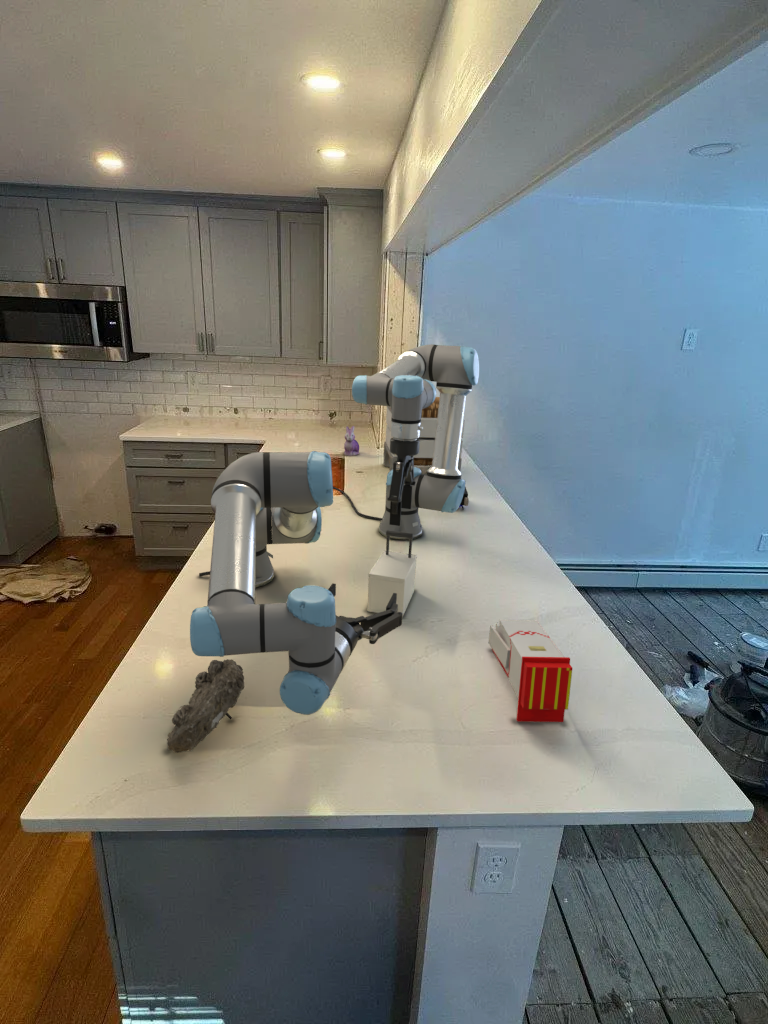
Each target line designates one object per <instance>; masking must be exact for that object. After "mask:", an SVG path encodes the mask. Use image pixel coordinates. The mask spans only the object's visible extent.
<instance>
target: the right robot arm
mask: <svg viewBox="0 0 768 1024" xmlns="http://www.w3.org/2000/svg"><path fill="white" fill-rule="evenodd" d="M479 378H480V359H479V354H478V352H477V350H476V349H475V348H474V347H470V346H464V345H446V344H445V345H444V344H443V345H442V344H432V343H431V344H424V345H420V346H416V347H413V348H410V349H408V350H406V351H404V352H402V353H401V354H400V355H399V356H398V358H397V359H396V360H395V361H394V362H392V363H391V364H389V365H388V366H386V367H384V368H383V369H381V370H379V371H378V372H376V373H374V374H372V375H367V374H365V375H356V376H355V378H354V379H353V382H352V385H351V396H352V399H353V401H354V402H355V403H357V404H362V405H370V406H379V407H381V406H382V407H387V406H391V407H392V417H391V432H390V436H391V437H392V438H391V439H390V452H391V453H392V454H395V455H397V461H395V462H394V463H393V470H391V471H390V470H389V472H388V473H387V475H386V482H385V504H384V505H385V507H384V508H385V509H384V513H383V515H382V517H378V516H373V515H367V514H363V513H361V512H359V511H358V509H357V507H356V505H355V504H354V503H353V501H352V499H351V498H350V496H349V495H348V494H347V493H346V492H345V491H343V490H342V489H340V488H337V487H335V486H333V490H335V491H338V492H339V493H341V494H342V495H344V496H345V497H346V499H347V500H348V503H350V505H351V507H352V509H353V510H354V512H355V514H357V515H358V516H360V517H362V518H365V519H366V518H367V519H371V520H377V521H381V522H379V526H378V533H379V534H380V535H381V536H382V537H385V538H387V535H386V531H387V530H390V531H398V532H405V533H413V539H412V540H415V539H418V538H420V537H421V536H422V535H423V525H422V524H421V518H420V515H419V509H424V510H430V511H435V512H436V511H437V512H441V513H450V514H453V513H456V512H457V511H458V509H459V508H460V507H459V506H460V503H461V501H462V498H463V494H464V490H465V487H466V480H465V479H464V478H462V473H461V472H462V471H461V472H460V471H459V470H458V460H459V452H460V444H461V440H462V438H461V435H462V427H463V419H464V420H465V418H464V417H465V411H466V400H467V395H468V394H470V393H471V392H472V391H473V386H477V385H478V384H479ZM433 382H435V385H434V383H433ZM437 391H438V392H439V397H440V398H439V407H438V416H437V425H436V434H435V443H434V452H433V461H432V465H430V466H429V468H428V469H427V470H426V474H425V473H422V469H421V468H419V467H417V466H414V460H413V458H414V455H417V454H418V453H419V444H420V441H419V439H418V438H419V437H420V430H423V427H422V426H420V424H421V412H422V409H424V408H427V407H428V406H430V405H431V404H432V403H433V402H434V400H435V398H436V397H437ZM390 540H395V541H409V538H401V537H394V536H390Z"/></svg>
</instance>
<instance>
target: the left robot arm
mask: <svg viewBox="0 0 768 1024" xmlns="http://www.w3.org/2000/svg"><path fill="white" fill-rule="evenodd" d="M333 481H334V480H333V469H332V458H331V455H330V454H329V453H327V452H324V451H317V450H312V451H270V452H267V451H264V452H263V451H255V452H251V453H248V454H245V455H242V456H240V457H239V458H237V459H236V460H234V461H232V462H231V463H230V464H229V465H228V466H227V467H226V468H225V469H224V470H223V471H222V472H221V473H220V475H219V476H218V477H217V479H216V481H215V483H214V485H213V488H212V491H211V497H210V498H211V499H210V507H211V510H212V512H213V513H214V522H213V523H214V525H213V535H212V547H211V557H210V569H209V571H204V572H199V573H198V576H199V577H205V576H209V580H208V589H207V590H208V591H207V600H206V601H207V605H205V606H203V607H196V608H194V609H193V610H192V612H191V615H190V621H189V640H190V648H191V651H192V653H193V654H194V655H195V656H197V657H220V658H223V657H225V656H237V655H248V654H249V655H250V654H263V653H276V652H280V653H281V652H288V670H287V673H286V674H285V675H284V676H283V679H282V682H281V683H280V685H279V697H280V699H281V701H282V703H283V704H284V705H285V707H286V708H288V709H289V710H290V711H291V712H293V713H296V714H300V715H307V716H308V715H313V714H314V713H315V714H316V712H319V710H320V709H321V708H322V706H323V705H324V703H325V702H326V701H327V700H328V699H329V697H330V696H331V693H332V690H333V689H334V686H335V685H336V682H337V681H338V679H339V677H340V675H341V673H342V671H343V670H344V668H345V666H346V664H347V663H348V661H349V659H350V657H351V655H352V654H353V652H354V650H355V648H356V647H357V644H358V642H359V641H360V640H362V639H365V640H368V643H369V644H370V645H375V644H376V643H377V641H378V640H379V639H381V638H383V637H384V636H386V635H387V634H389V633H390V632H392V631H394V630H395V629H398V628H399V627H401V626H402V625H403V617H402V614H403V613H402V612H398V604H396V601H397V593H393V595H392V597H391V599H390V601H389V603H388V604H387V606H386V611H383V612H380V613H374V614H371V615H368V616H364V615H360V616H357V617H348V616H344V615H337V614H336V599H335V597H336V595H337V584H336V583H331V585H330V586H329V588H328V589H327V588H326V587H323V586H319V585H313V584H312V585H311V584H309V585H308V584H307V585H303V586H302V587H296V588H294V589H293V590H291V591H290V592H289V594H288V596H287V599H286V602H275V603H271V602H270V603H257V604H256V589H257V588H260V587H263V586H265V585H267V584H269V583H271V582H272V581H273V580H274V577H275V573H274V572H275V570H274V567H273V564H272V561H271V559H274V555H273V554H272V553H270V552H269V551H267V545H287V544H288V545H289V544H293V545H294V544H306V545H307V544H311V543H317V542H318V541H319V539H320V537H321V531H322V522H323V520H322V509H321V508H325V507H331V506H332V505H333V503H334V489H333V487H334V483H333Z"/></svg>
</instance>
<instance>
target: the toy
mask: <svg viewBox="0 0 768 1024" xmlns="http://www.w3.org/2000/svg"><path fill="white" fill-rule="evenodd" d="M488 646H490V648H491V651H492V653H493V655H494V656H495V658H496V660H497V661H498V663H499V665H500V666H501V668H502V670H503V672H504V673H505V676H506V678H508V681H509V683H510V685H511V687H512V689H513V692H514V694H515V695H516V697H517V708H516V709H517V710H516V722H519V723H520V722H521V723H522V722H523V723H525V722H526V723H564V720H565V712H566V710H569V704H570V703H569V702H570V695H571V685H572V677H573V667H572V665H571V658H570V657H568V656H567V657H566V656H564V654H563V653H562V652H561V650H560V649H559V648H558V646H557V645H556V644H555V642H554V641H553V640H552V638H551V637H550V636H549V634H548V633H547V631H546V630H545V629H544V626H543V625H541V624H540V622H539V620H536V619H535V620H531V619H528V620H527V619H499V620H498V622H495V626H494V625H490V627H489V635H488Z"/></svg>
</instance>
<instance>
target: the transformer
mask: <svg viewBox="0 0 768 1024" xmlns="http://www.w3.org/2000/svg"><path fill="white" fill-rule="evenodd" d="M439 398H440V396H436V398H435V400H434V402H433V403H432V404H431V405H430V406H428V407H427V408H424V409H422V412H421V424H420V426H422V427H423V430H420V437H419V438H418V439H419V441H420V444H419V453H418V454H417V455H414V458H413V460H414V467H417V466H418V467H431V466H432V461H433V452H434V443H435V434H436V425H437V416H438V407H439ZM385 414H386V415H385V423H386V428H385V438H384V442H383V466H384V467H388V468H389V472H390V471H391V470H393V463H394V462H395V461H397V455H395V454H392V453H391V452H390V439H391V438H392V437H391V436H390V432H391V417H392V407H391V406H386V413H385ZM464 429H465V418H464V419H463V427H462V435H461V444H460V452H459V460H458V470H459V471H460V472H462V461H463V460H462V453H463V442H464V441H463V440H462V439H463V438H464V431H465V430H464Z"/></svg>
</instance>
